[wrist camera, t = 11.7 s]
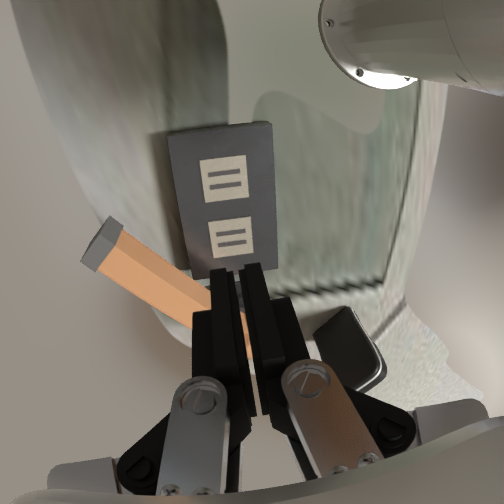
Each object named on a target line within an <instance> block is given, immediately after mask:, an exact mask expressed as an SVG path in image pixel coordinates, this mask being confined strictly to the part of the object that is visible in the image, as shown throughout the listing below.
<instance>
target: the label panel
mask: <svg viewBox="0 0 504 504" xmlns="http://www.w3.org/2000/svg"><path fill="white" fill-rule="evenodd" d="M167 140H168V147H169V153H170V160H171V166H172V172H173V178H174V184H175V190H176V195H177V201H178V207H179V212H180V217H181V223H182V228H183V233H184V238H185V243H186V248H187V253H188V258H189V263H190V268H191V272H192V277H193V280H200V279H207V278H210V270H212V269H219V268H225V267H226V270H227V272H228V271H233V273H234V275H236V274H239V272H238V270H241V269H244V264H251V263H257V262H260V263H261V267H262V271H265V270H272V269H278V247H277V219H276V194H275V172H274V152H273V133H272V124H271V123H269V122H268V121H264V122H252V123H241V124H231V125H222V126H214V127H206V128H198V129H191V130H184V131H178V132H172V133H169V134H168V136H167Z"/></svg>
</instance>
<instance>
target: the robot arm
mask: <svg viewBox="0 0 504 504" xmlns="http://www.w3.org/2000/svg"><path fill="white" fill-rule="evenodd" d="M325 22H328V24H329V26H327V25H326V24H325ZM318 24H319V25H318V26H319V31H320V35H321V39H322V42H323V44H324V47H325V49H326V51H327V52H328V54H329V56H330V57H331V59H332V61H333V62H334V63H335V64H336V65H337V66H338V67H339V69H340V70H342V71H343V72H344V73H345V74H346V75H347V76H349V77H350V78H352V79H353V80H355V81H357V82H358V83H360V84H363V85H366V86H368V87H372V88H377V89H385V90H392V89H399V88H402V87H405V86H408V85H409V84H411V83H412V82H414V81H415V80H416V79H422V80H428V81H434V82H440V83H445V84H451V85H456V86H461V87H465V88H470V89H475V90H478V91H483V92H486V93H490V94H494V95H498V96H502V97H504V0H322V2H321V4H320V8H319V14H318ZM356 70H357V72H358V73H357V75H356V73H355V72H356ZM238 272H239V278H240V284H241V291H242V297H243V303H244V309H245V315H246V321H247V327H248V333H249V339H250V345H251V351H252V357H253V363H254V369H255V374H256V380H257V385H258V392H259V397H260V403H261V409H262V414H263V415H268V414H269V416H270V421H271V423H272V427H273V428H274V429H276V430H278V431H280V432H281V433H283V434H285V438H286V440H287V443H288V445H289V447H290V450H291V452H292V455H293V457H294V460H295V462H296V465H297V467H298V469H299V472H300V474H301V476H302V479H303V481H304V482H300V483H295V484H290V485H284V486H279V487H273V488H266V489H260V490H253V491H244V492H241V486H242V485H241V484H242V463H243V462H242V461H243V440H244V439H245V438H246V436H247V435H248V434H249V433H250V432H251V426H252V423H251V417H255V416H257V413H256V406H255V400H254V394H253V388H252V381H251V375H250V369H249V363H248V356H247V350H246V343H245V337H244V331H243V325H242V319H241V314H240V308H239V302H238V297H237V291H236V285H235V279H234V273H233V271H228V272H227V270H226V267H225V268H219V269H212V270H210V294H211V309H210V310H203V311H196V312H193V314H192V378H191V379H188V380H186V381H185V382H183V383H182V384H181V385H180V386H179V387H178V388H177V390H176V391H175V394H174V397H173V401H172V406H171V412H170V413H169V414H168V415H167V416H166V417H164V418H163V419H162V420H161V421H160V422H159V423H158V424H157V425H156V426H155V427H154V428H152V429H151V430H150V431H149V432H148V433H147V434H146V435H144V436H143V437H142V438H141V439H140V440H139V441H138V442H136V443H135V444H134V445H133V446H132V447H131V448H130V449H129V450H127V451H126V452H125V453H124V454H123V455H122V456H121V457H120V458H115V459H113V458H112V457H106V458H100V459H94V460H88V461H81V462H74V463H66V464H60V465H57V466H55V467H54V468H53V469H51V471H50V473H49V474H48V479H47V487H48V489H45V490H38V491H33V492H29V493H26V494H24V495H21V496H19V497H18V498H16V499H14V500H13V501H12V502H11V503H10V504H504V416H500V417H494V418H489V416H488V413H487V410H486V408H485V406H484V405H483V404H482V403H481V402H480V401H478V400H475V399H463V400H458V401H453V402H448V403H442V404H436V405H430V406H424V407H417V408H415V409H414V411H404V410H402V409H400V408H398V407H395V406H393V405H390V404H388V403H385V402H383V401H380V400H378V399H375V398H373V397H370V396H368V395H366V394H363V393H361V392H358V391H356V390H354V389H351V388H349V387H347V386H344V385H342V384H341V382H340V381H339V379H338V377H337V376H336V374H335V372H334V371H333V370H332V368H331V367H330V366H329V365H327V364H326V363H324V362H322V361H319V360H315V359H310V356H309V353H308V350H307V347H306V344H305V341H304V338H303V334H302V331H301V328H300V325H299V322H298V320H297V317H296V314H295V311H294V308H293V305H292V302H291V299H290V297H285V298H279V299H273V300H270V297H269V294H268V290H267V286H266V282H265V278H264V275H263V271H262V267H261V263H260V262H257V263H251V264H244V269H241V270H238Z"/></svg>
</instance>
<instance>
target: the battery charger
mask: <svg viewBox="0 0 504 504" xmlns="http://www.w3.org/2000/svg"><path fill="white" fill-rule="evenodd" d="M313 338H314V340H315V342H316V345H317V347H318V350H319V353H320V356H321V360H322V362H324V363H326V364H327V365H329V366H330V367H331V368H332V370H333V371H334V372H335V374H336V376H337V377H338V379H339V381H340V382H341V384H342V385H344V386H347V387H349V388H351V389H354V390H356V391H358V392H361V393H363V394H364V393H366V392H367V391H369V390H370V389H372V388H373V387H374V386H376V385H377V384H378V383H380V382H381V381H382V380H383V379H384V378H385V377H386V374H387V366H386V363H385V361H384V359H383V357H382V355H381V353H380V351H379V349H378V347H377V346H376V344H375V343H373V342H372V340H371V339H370V337H369V336H368V334H367V332H366V331H365V329H364V328H363V326H362V324H361V323H360V321H359V318H358V317H357V315H356V313H355V312H354V311H353V309H352V308H350V307H346V308H345V309H343V310H342V311H341V312H339V313H338V314H337V315H335V316H334V317H333V318H332V319H330V320H329V321H328V322H327V323H326V324H324V325H323V326H322V327H321V328H320V329H318V330H317V331H316V332H315V333H314V334H313Z"/></svg>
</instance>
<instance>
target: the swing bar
mask: <svg viewBox="0 0 504 504" xmlns="http://www.w3.org/2000/svg"><path fill="white" fill-rule="evenodd" d="M123 227H124V226H123V225H122V224H120V223H119V222H118V221H116V220H115V219H114V218H112V217H111V216H109V217H108V218H107V220H106V221H105V223H104V224H103V225H102V227H101V228H100V229H99V231H98V232H97V234H96V235H95V236H94V238H93V239H92V241H91V242H90V244H89V246H88V248H87V250H86V252H85V253H84V255H83V257H82V259H81V261H80V262H82V263H83V264H85V265H86V266H87V267H89V268H90V269H92V270H93V271H94V272H95V271H96V270H99V271H100V272H102V273H103V274H105V275H106V276H107V277H109V278H110V279H112V280H114V281H115V282H116V283H118V284H119V285H121V286H122V287H124V288H125V289H127V290H128V291H130V292H132V293H133V294H135V295H136V296H138V297H139V298H141V299H142V300H144V301H146V302H147V303H149V304H150V305H152V306H153V307H155V308H157V309H158V310H160V311H162V312H163V313H165V314H166V315H168V316H170V317H171V318H173V319H175V320H176V321H178V322H180V323H181V324H183V325H185V326H186V327H188V328H190V329H192V314H193V312H196V311H203V310H210V309H211V294H210V291H209V290H208V289H206V288H205V287H203V286H202V285H201V284H199V283H198V282H196V281H195V280H193V279H192V278H190V277H189V276H187V275H186V274H185V273H183V272H182V271H180V270H179V269H177V268H176V267H175V266H173V265H172V264H170V263H169V262H167V261H166V260H165V259H163V258H162V257H160V256H159V255H158V254H156V253H155V252H153V251H152V250H151V249H149V248H148V247H146V246H145V245H144V244H142V243H141V242H140V241H138V240H137V239H135V238H134V237H133V236H131V235H130V234H129V233H127V232H126V231H125V230H123ZM240 314H241V319H242V325H243V331H244V337H245V343H246V350H247V356H248V359H251V358H253V357H252V351H251V345H250V339H249V333H248V327H247V321H246V315H245V314H244V313H242V312H241V311H240Z"/></svg>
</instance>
